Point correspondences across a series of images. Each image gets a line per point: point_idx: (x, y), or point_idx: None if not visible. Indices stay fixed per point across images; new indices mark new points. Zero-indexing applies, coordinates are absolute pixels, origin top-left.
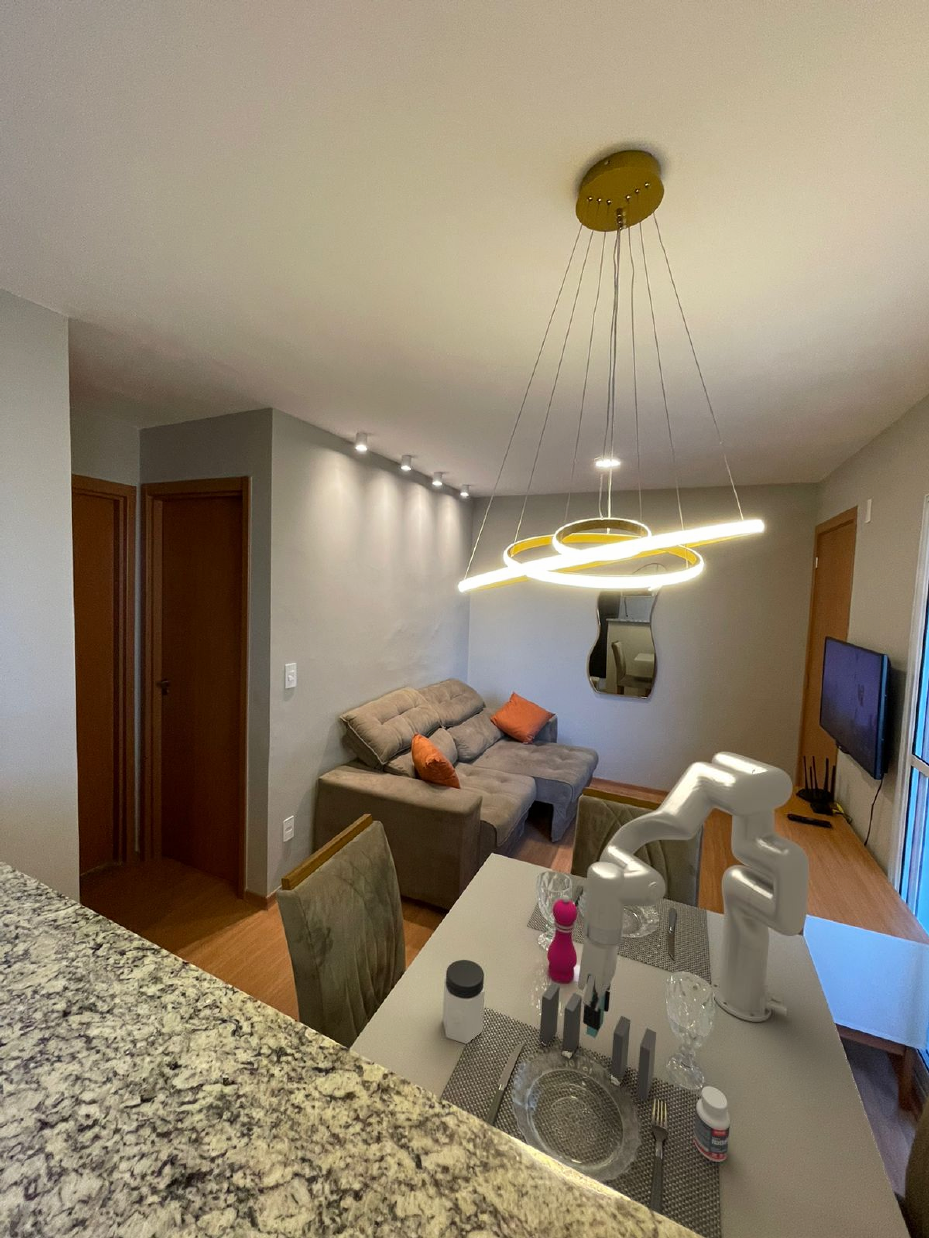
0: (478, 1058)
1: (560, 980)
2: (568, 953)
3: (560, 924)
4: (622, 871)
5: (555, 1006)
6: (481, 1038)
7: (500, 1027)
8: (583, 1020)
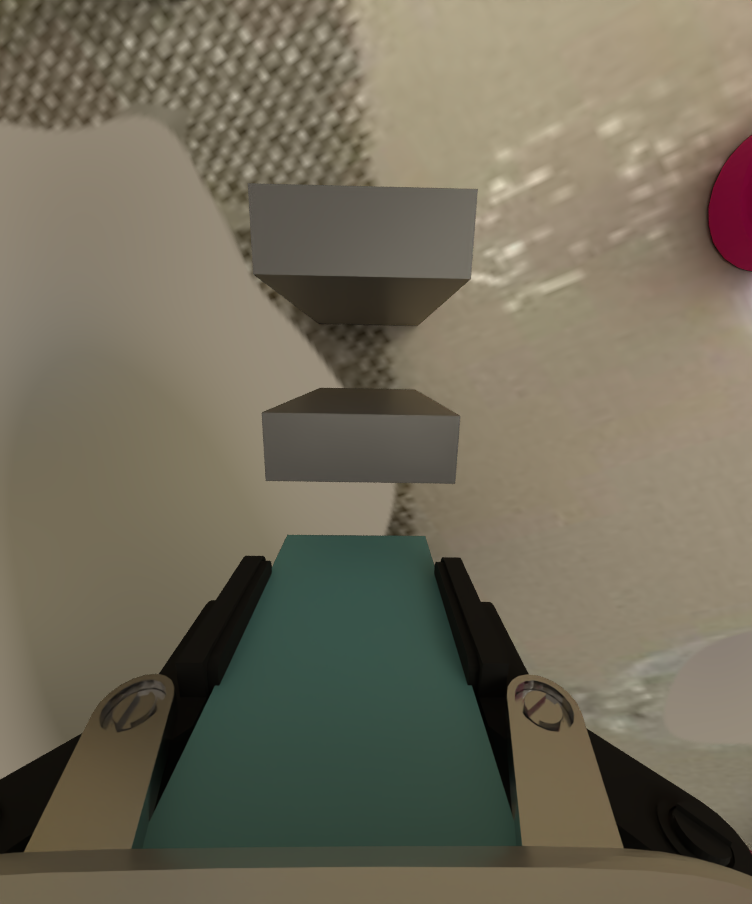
0: (62, 73)
1: (718, 219)
2: None
3: None
4: None
5: (391, 303)
6: (158, 19)
7: (276, 76)
8: (241, 563)
